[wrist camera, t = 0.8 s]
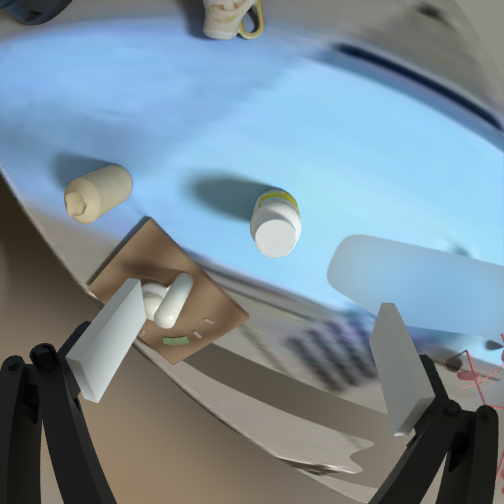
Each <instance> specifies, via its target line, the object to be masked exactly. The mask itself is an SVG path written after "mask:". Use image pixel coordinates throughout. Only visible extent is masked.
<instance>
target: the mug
mask: <svg viewBox="0 0 504 504" xmlns="http://www.w3.org/2000/svg"><path fill="white" fill-rule="evenodd" d="M203 3H204V8H205V21H204V26H203V32H204V33H205V35H206V36H208V37H210V38H213V39H217V40H229V39H232V38H233V37H234V36H236V35H237V33H239V34H240V35H241V36H242V37H243V38H245V39H247V40H252V39H255V38H257V37H259V36H260V35H261V33H262V32H263V30H264V18H263V14H262V8H261V0H203ZM252 5H254V7H255V10H256V13H257V17H258V23H259V25H258V29H257V31H255V32H254V33H249V32H246V31H245V30H244V26H243V22H242V18H243V16H244V15H245V13H246V12H247V11H248V10H249V9H250V7H251V6H252Z"/></svg>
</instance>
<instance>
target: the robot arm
mask: <svg viewBox="0 0 504 504" xmlns="http://www.w3.org/2000/svg"><path fill="white" fill-rule="evenodd" d="M71 1H72V0H0V9H4V10H5V11H6V12H8V13H9V14H10V15H12V16H13V17H14V18H16V19H17V20H18V21H20V22H22V23H26V24H31V25H38V24H42V23H45V22H47V21H49V20H51V19H52V18H54V17H55V16H56V15H58V14H59V13H60V12H61V11H62V10H63V9H65V8H66V7H67V5H68V4H69V3H70V2H71ZM145 321H146V315H145V309H144V302H143V296H142V289H141V282H140V280H139V279H131V278H128V279H127V280H126V281H125V282H124V283H123V285H122V286H121V287H120V288H119V289H118V291H117V292H116V293H115V294H114V295H113V297H112V298H111V299H110V300H109V301H108V303H107V304H106V305H105V306H104V308H103V309H102V310H101V311H100V313H99V314H98V315H97V316H96V318H95V319H94V320H93V321H92V322H89V321H85V322H84V323H82V324H81V325H79V326H78V327H77V328H76V329H75V331H74V332H73V334H71V336H70V337H69V339H67V341H66V342H65V343H64V344H63V346H62V347H61V348H60V349H59V351H58V352H57V353H56V350H55V348H54V346H53V345H51V344H48V343H41V344H39V345H37V346H35V347H34V348H33V349H32V350H31V352H30V355H29V356H30V358H31V361H32V363H33V364H25V362H24V360H23V358H22V357H20V356H17V355H14V356H10V357H8V358H7V359H6V360H5V361H4V362H3V364H2V366H1V370H0V504H41V492H40V449H41V431H42V420H43V425H44V430H45V436H46V440H47V445H48V449H49V454H50V458H51V462H52V466H53V469H54V473H55V476H56V480H57V483H58V487H59V489H60V493H61V496H62V499H63V502H64V504H117V503H116V500H115V498H114V496H113V494H112V492H111V489H110V487H109V485H108V482H107V480H106V478H105V475H104V473H103V470H102V468H101V465H100V463H99V460H98V457H97V455H96V452H95V449H94V446H93V443H92V441H91V438H90V435H89V432H88V428H87V425H86V422H85V419H84V415H83V412H82V408H81V405H80V401H79V399H78V397H77V396H78V394H79V393H80V391H81V392H82V394H83V396H84V398H85V399H88V400H91V401H93V402H96V403H98V402H99V400H100V398H101V397H102V395H103V393H104V391H105V389H106V388H107V386H108V384H109V382H110V380H111V379H112V377H113V375H114V374H115V372H116V370H117V368H118V366H119V365H120V363H121V361H122V359H123V358H124V356H125V354H126V353H127V351H128V349H129V348H130V346H131V344H132V343H133V341H134V339H135V337H136V336H137V334H138V332H139V331H140V329H141V327H142V326H143V324H144V322H145ZM369 344H370V347H371V351H372V354H373V358H374V361H375V365H376V368H377V372H378V375H379V379H380V383H381V386H382V390H383V394H384V398H385V402H386V406H387V410H388V414H389V418H390V422H391V427H392V431H393V435H394V436H399V435H408V434H409V433H410V432H411V430H412V429H413V428H414V429H415V432H416V434H415V436H414V437H413V438H412V439H411V441H410V442H409V443H408V444H407V449H406V450H405V452H404V453H403V455H402V456H401V458H400V459H399V461H398V463H397V464H396V466H395V467H394V469H393V470H392V472H391V473H390V474H389V476H388V478H387V479H386V480H385V482H384V483H383V484H382V486H381V487H380V488H379V490H378V491H377V492H376V494H375V495H374V496H373V498H372V499H371V500H370V502H369V503H368V504H420V502H421V501H422V499H423V497H424V495H425V494H426V492H427V490H428V488H429V486H430V485H431V483H432V481H433V479H434V477H435V475H436V473H437V472H438V469H439V467H440V465H441V463H442V461H443V459H444V457H445V455H446V453H447V456H446V461H445V466H444V471H443V476H442V480H441V485H440V489H439V493H438V496H437V500H436V503H435V504H492V503H493V496H494V489H495V481H496V471H497V458H498V414H497V412H496V411H495V410H494V409H493V408H492V407H490V406H488V405H483V406H480V407H479V408H478V409H477V410H476V412H472V411H466V410H462V409H461V407H460V405H459V404H458V403H457V402H455V401H454V400H450V399H449V398H448V395H447V393H446V390H445V388H444V386H443V383H442V381H441V379H440V377H439V374H438V372H437V371H436V368H435V365H434V363H433V361H432V360H431V359H430V358H429V357H428V356H427V355H418V353H417V351H416V348H415V346H414V344H413V342H412V339H411V337H410V335H409V333H408V331H407V329H406V326H405V324H404V322H403V320H402V318H401V316H400V314H399V312H398V310H397V308H396V306H395V304H394V303H382V304H381V308H380V311H379V313H378V316H377V319H376V322H375V325H374V328H373V331H372V334H371V337H370V340H369Z"/></svg>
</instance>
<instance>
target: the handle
mask: <svg viewBox="0 0 504 504" xmlns="http://www.w3.org/2000/svg"><path fill="white" fill-rule="evenodd" d="M193 284H194V280H193V278H192V277H191V276H190V275H189V274H187V273H180V274H178V275H177V277H176V278H175V280H174V282H173V283H172V284H171V285H169V286H168V287H166V286H165V285H163V284H161V283H158V282H148V283H145V284H144V285H143V286H142V287H141V289H142V296H143V302H144V309H145V315H146V318H147V319H149V320H152V321H155V322H156V324H157V325H159V326H160V327H162V328H166V329H168V328H171V327H173V326H174V324H175V321H176V319H177V317H178V315H179V313H180V311H181V309H182V307H183V305H184V303H185V301H186V299H187V297H188V295H189V292H190V290H191V288H192V286H193Z"/></svg>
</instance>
